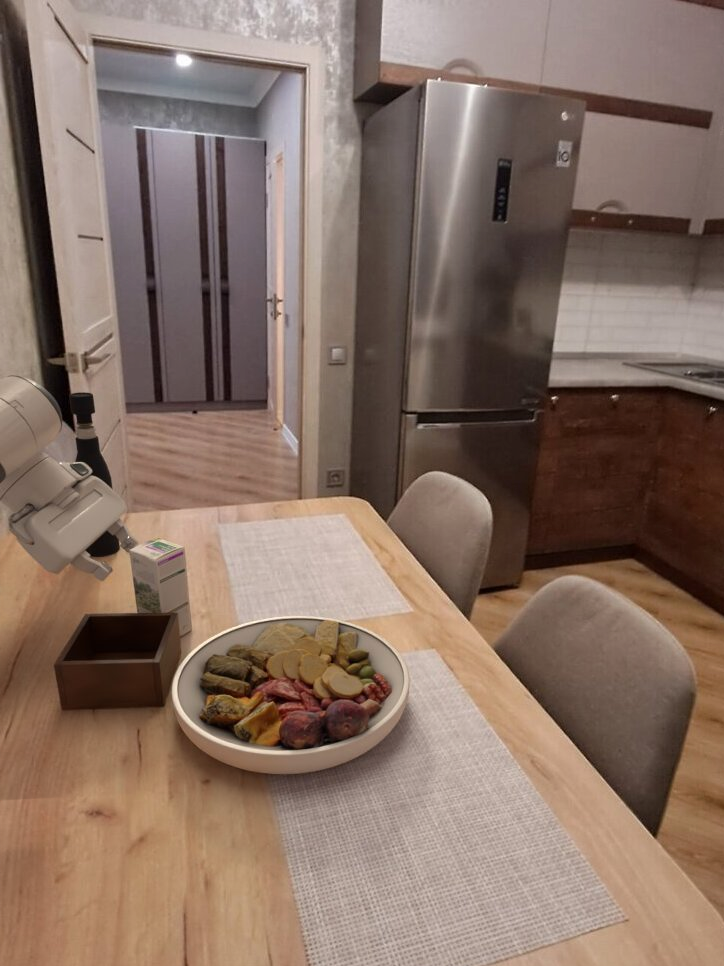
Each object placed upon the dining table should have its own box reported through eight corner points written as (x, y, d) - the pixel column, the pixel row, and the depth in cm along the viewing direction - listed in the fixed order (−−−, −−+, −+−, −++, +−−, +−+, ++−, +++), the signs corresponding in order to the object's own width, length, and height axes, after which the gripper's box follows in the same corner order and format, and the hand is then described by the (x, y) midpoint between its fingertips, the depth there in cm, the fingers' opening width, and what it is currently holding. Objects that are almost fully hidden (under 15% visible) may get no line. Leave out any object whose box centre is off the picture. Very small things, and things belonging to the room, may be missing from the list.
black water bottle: (89, 559, 125) (66, 399, 113) (79, 547, 129) (56, 392, 117) (124, 551, 128) (105, 396, 117) (113, 540, 133) (94, 389, 121)
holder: (61, 709, 85) (53, 664, 82) (91, 654, 96) (85, 613, 94) (164, 706, 86) (159, 662, 84) (181, 652, 98) (177, 612, 95)
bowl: (138, 690, 89) (132, 639, 86) (324, 624, 107) (325, 580, 104) (245, 833, 68) (242, 773, 65) (454, 721, 87) (460, 670, 83)
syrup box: (193, 630, 104) (187, 544, 98) (163, 647, 99) (154, 558, 93) (168, 619, 106) (160, 535, 101) (137, 635, 102) (127, 548, 96)
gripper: (15, 505, 82) (104, 580, 86) (89, 459, 101) (160, 522, 105) (-14, 537, 84) (74, 609, 87) (64, 485, 103) (134, 546, 106)
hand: (121, 561), depth 96 cm, fingers open, 8 cm apart
